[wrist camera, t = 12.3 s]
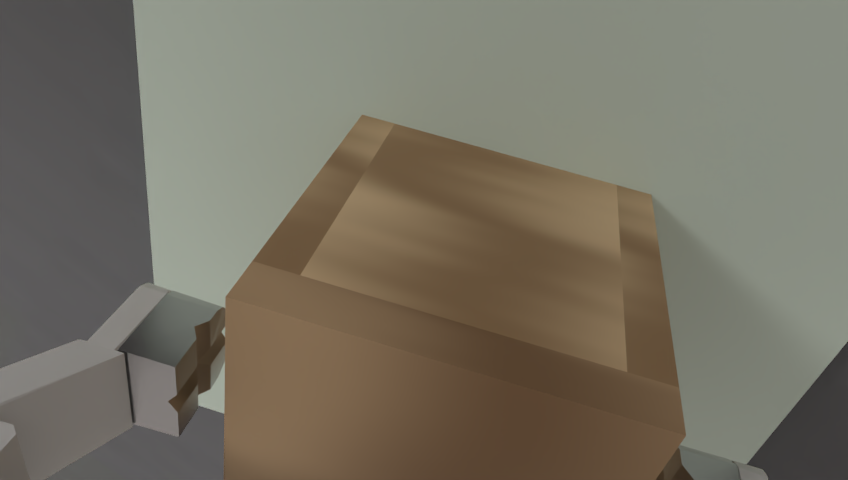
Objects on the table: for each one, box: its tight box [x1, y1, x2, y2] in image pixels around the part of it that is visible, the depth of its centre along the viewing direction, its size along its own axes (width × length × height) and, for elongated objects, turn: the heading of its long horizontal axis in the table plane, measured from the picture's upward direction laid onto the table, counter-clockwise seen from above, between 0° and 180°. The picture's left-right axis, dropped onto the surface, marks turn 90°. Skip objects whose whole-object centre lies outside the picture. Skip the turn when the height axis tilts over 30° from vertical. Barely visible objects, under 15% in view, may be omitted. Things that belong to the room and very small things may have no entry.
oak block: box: [224, 115, 686, 480], centre depth 12 cm, size 6×6×6 cm
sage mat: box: [133, 0, 848, 464], centre depth 15 cm, size 16×16×1 cm
